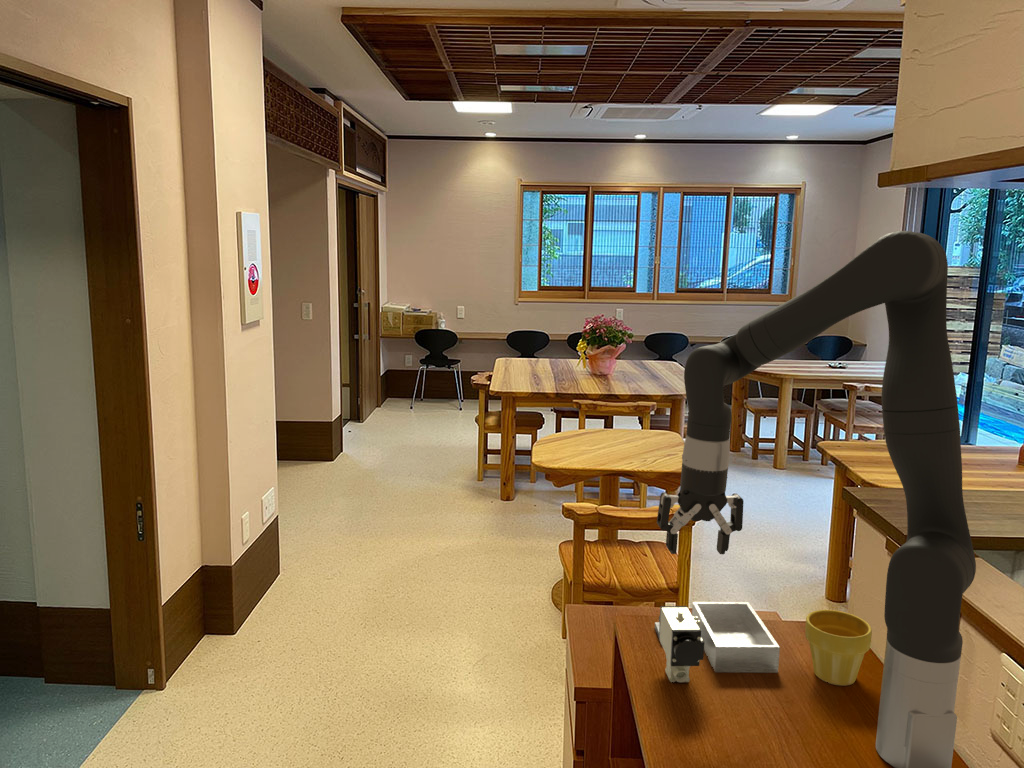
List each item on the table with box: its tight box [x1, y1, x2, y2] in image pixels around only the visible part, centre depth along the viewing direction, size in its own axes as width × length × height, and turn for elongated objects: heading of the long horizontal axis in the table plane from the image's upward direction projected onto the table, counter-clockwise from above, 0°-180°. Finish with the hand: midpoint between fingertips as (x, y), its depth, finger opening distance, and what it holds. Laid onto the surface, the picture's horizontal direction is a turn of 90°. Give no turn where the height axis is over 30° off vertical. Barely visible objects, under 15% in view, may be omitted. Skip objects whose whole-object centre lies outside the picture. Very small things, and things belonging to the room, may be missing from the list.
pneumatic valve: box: [658, 605, 705, 683], centre depth 125 cm, size 6×12×12 cm, turn 2°
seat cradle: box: [691, 601, 781, 674], centre depth 135 cm, size 17×11×5 cm, turn 0°
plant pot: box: [804, 609, 873, 687], centre depth 126 cm, size 10×10×10 cm
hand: (696, 552), depth 126 cm, fingers open, 8 cm apart
